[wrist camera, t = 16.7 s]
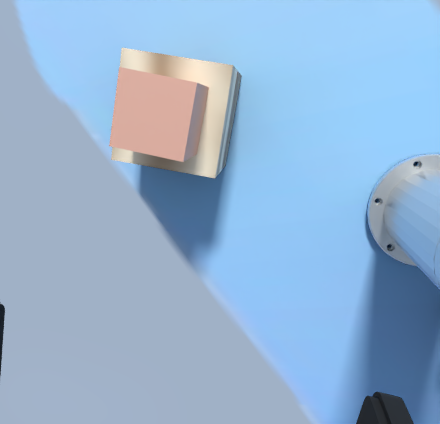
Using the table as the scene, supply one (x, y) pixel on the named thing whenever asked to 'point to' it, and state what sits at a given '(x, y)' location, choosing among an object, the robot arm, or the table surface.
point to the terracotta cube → (158, 115)
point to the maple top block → (213, 116)
